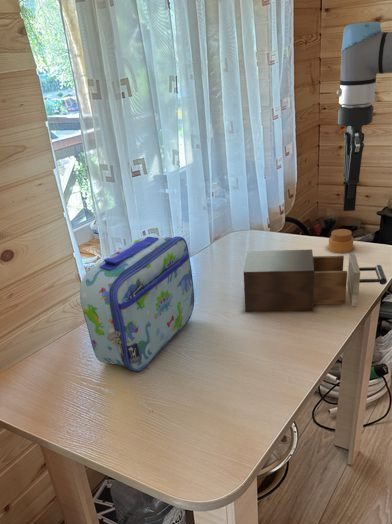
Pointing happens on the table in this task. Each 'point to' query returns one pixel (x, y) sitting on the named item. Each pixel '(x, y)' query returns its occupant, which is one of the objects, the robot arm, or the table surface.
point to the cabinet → (279, 281)
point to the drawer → (340, 279)
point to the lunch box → (138, 300)
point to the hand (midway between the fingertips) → (348, 209)
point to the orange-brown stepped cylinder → (341, 241)
